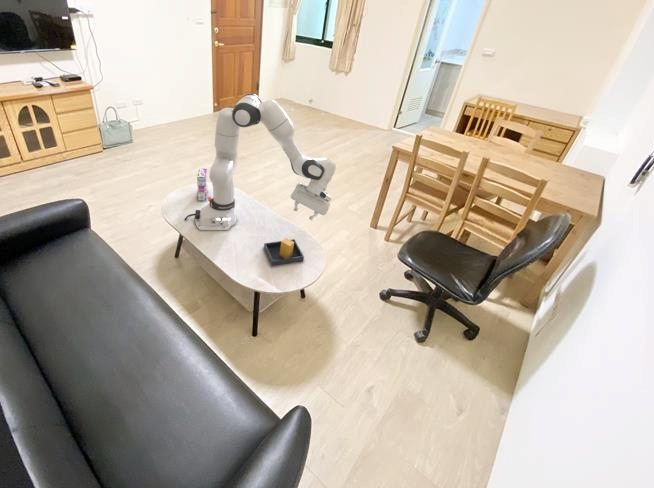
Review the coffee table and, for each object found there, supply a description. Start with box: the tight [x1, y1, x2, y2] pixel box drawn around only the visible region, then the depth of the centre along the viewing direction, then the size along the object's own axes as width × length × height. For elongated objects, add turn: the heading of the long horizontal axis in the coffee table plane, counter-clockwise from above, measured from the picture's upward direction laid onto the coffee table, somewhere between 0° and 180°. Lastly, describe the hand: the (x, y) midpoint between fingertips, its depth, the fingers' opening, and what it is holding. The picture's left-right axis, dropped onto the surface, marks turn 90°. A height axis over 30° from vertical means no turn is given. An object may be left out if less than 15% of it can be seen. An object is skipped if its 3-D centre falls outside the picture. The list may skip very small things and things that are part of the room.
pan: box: [263, 238, 305, 267], centre depth 166 cm, size 16×13×4 cm
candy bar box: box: [196, 168, 208, 202], centre depth 199 cm, size 11×5×16 cm, turn 5°
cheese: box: [280, 237, 294, 259], centre depth 164 cm, size 5×4×9 cm
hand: (302, 215), depth 165 cm, fingers open, 8 cm apart
